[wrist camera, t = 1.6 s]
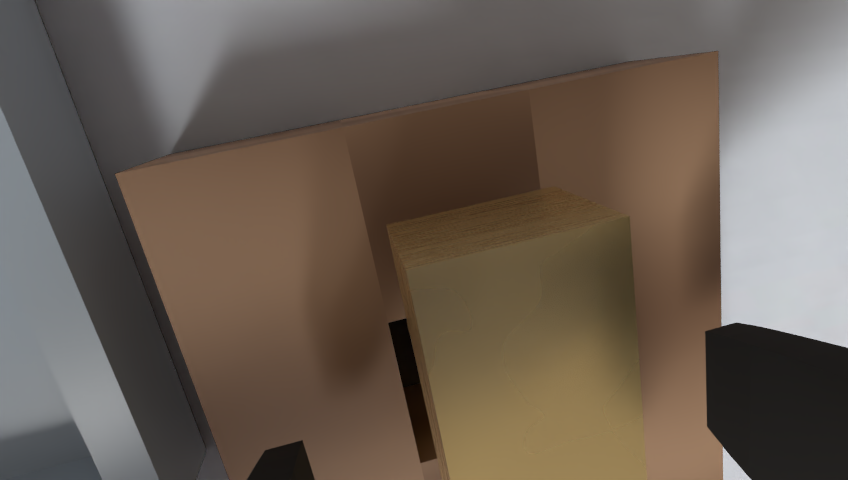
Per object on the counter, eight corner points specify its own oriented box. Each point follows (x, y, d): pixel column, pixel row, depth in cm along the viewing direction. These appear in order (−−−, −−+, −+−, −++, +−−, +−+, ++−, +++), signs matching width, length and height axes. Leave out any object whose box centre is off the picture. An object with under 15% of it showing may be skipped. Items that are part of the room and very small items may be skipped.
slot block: (652, 431, 16) (722, 505, 13) (298, 535, 14) (290, 643, 12) (629, 61, 12) (718, 50, 10) (169, 154, 11) (114, 174, 8)
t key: (520, 426, 15) (659, 667, 9) (427, 453, 14) (501, 723, 8) (478, 156, 12) (629, 216, 6) (367, 180, 12) (405, 269, 6)
